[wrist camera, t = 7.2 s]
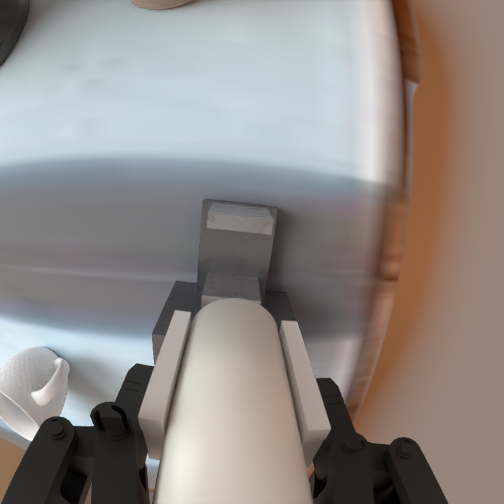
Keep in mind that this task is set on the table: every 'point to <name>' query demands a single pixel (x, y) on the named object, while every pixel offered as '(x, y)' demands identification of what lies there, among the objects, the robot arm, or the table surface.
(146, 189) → the table surface
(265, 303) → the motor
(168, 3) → the planter
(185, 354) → the white bottle
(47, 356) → the mug
